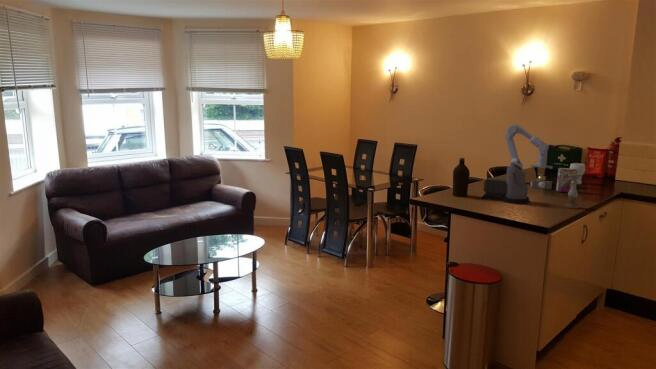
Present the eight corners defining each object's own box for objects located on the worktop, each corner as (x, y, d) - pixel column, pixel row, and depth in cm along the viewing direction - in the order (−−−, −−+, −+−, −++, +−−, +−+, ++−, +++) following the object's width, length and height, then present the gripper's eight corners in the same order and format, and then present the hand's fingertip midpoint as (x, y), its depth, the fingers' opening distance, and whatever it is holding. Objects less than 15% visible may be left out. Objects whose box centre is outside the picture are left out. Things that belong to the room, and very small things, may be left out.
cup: (586, 184, 382) (588, 165, 379) (571, 184, 382) (574, 164, 379) (579, 182, 392) (581, 163, 390) (565, 182, 393) (567, 162, 390)
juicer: (533, 201, 322) (537, 163, 318) (527, 205, 309) (531, 166, 305) (486, 195, 339) (489, 159, 334) (478, 199, 326) (481, 161, 321)
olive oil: (458, 197, 329) (461, 159, 324) (448, 194, 338) (450, 157, 334) (471, 196, 334) (474, 158, 329) (460, 193, 343) (463, 156, 338)
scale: (531, 188, 366) (532, 181, 365) (530, 183, 382) (530, 177, 381) (551, 189, 362) (552, 182, 361) (548, 185, 378) (549, 178, 377)
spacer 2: (537, 183, 369) (538, 176, 368) (537, 182, 374) (538, 175, 373) (544, 183, 367) (545, 176, 366) (544, 182, 372) (545, 175, 371)
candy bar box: (558, 192, 353) (560, 168, 349) (555, 190, 357) (558, 167, 354) (574, 192, 351) (577, 169, 348) (572, 191, 356) (574, 168, 353)
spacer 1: (536, 181, 375) (537, 175, 374) (536, 180, 380) (537, 173, 379) (543, 182, 373) (544, 175, 372) (543, 181, 378) (544, 174, 377)
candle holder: (574, 205, 311) (578, 173, 308) (582, 208, 303) (586, 175, 299) (560, 205, 311) (564, 172, 307) (568, 208, 303) (571, 175, 299)
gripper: (552, 159, 374) (550, 177, 377) (531, 158, 379) (529, 176, 381) (553, 160, 368) (551, 179, 370) (532, 159, 372) (530, 177, 375)
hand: (540, 177), depth 375 cm, fingers closed on spacer 1, 5 cm apart
